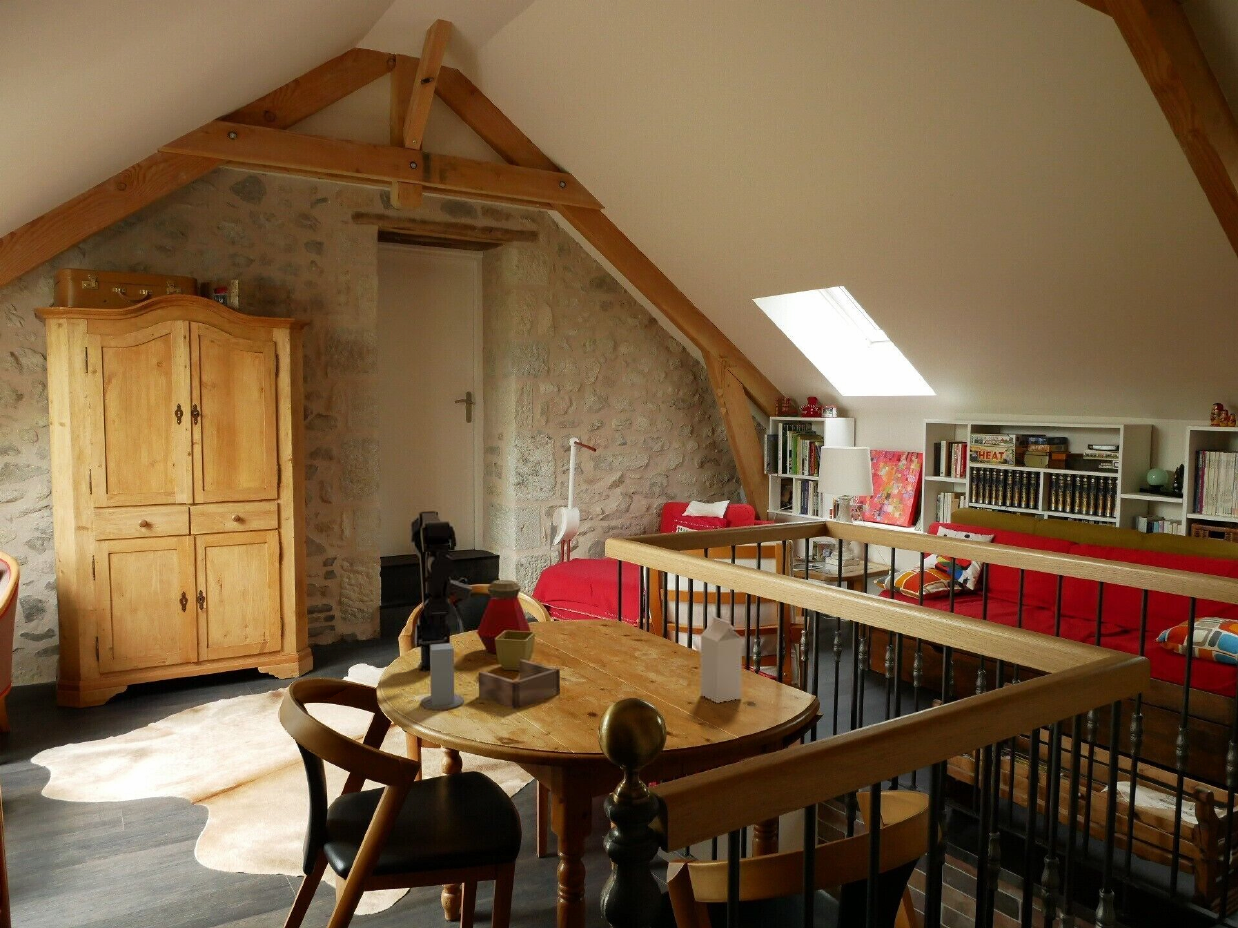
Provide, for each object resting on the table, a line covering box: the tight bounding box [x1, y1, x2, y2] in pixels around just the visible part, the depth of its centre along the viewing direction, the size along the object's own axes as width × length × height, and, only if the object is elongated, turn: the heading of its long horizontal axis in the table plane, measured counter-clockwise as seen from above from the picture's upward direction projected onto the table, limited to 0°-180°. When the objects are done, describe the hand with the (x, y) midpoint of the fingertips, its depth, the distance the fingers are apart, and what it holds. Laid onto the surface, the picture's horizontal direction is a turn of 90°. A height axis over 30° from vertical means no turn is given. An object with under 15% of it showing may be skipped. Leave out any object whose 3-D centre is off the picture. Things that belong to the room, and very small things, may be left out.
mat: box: [420, 693, 465, 711], centre depth 213 cm, size 10×10×1 cm
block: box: [429, 642, 455, 705], centre depth 213 cm, size 5×5×13 cm
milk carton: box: [700, 616, 743, 704], centre depth 217 cm, size 7×7×19 cm
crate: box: [478, 659, 561, 710], centre depth 219 cm, size 13×14×6 cm
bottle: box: [476, 579, 531, 656], centre depth 257 cm, size 16×14×20 cm
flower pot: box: [495, 631, 536, 671], centre depth 241 cm, size 9×9×9 cm
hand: (438, 633), depth 227 cm, fingers open, 9 cm apart
